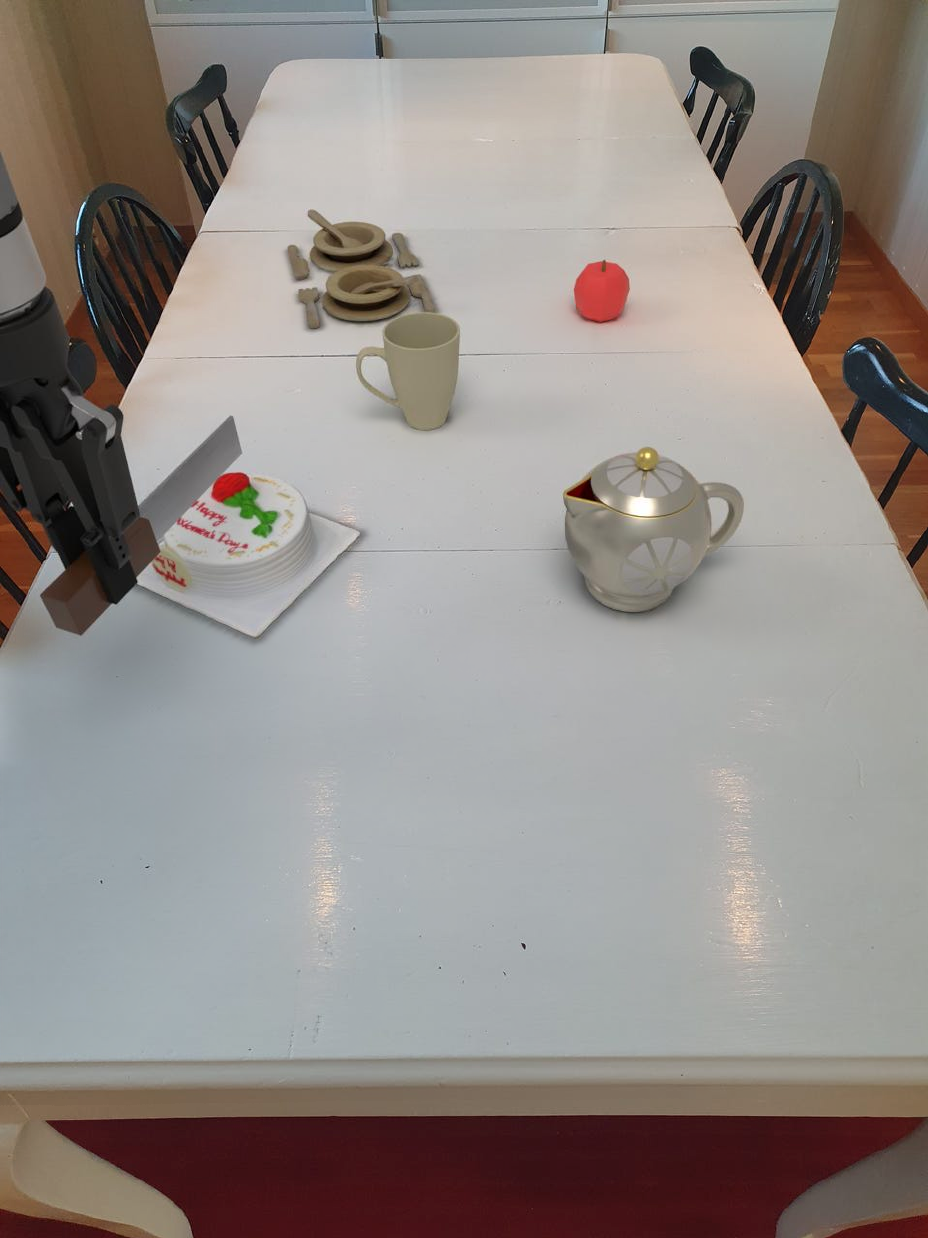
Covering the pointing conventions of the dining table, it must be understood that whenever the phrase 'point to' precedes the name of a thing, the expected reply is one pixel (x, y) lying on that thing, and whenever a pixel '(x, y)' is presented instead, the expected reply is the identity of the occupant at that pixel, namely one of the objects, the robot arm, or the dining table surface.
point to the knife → (142, 531)
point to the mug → (419, 366)
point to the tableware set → (357, 272)
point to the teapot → (643, 527)
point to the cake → (244, 551)
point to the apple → (601, 291)
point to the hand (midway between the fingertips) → (106, 586)
